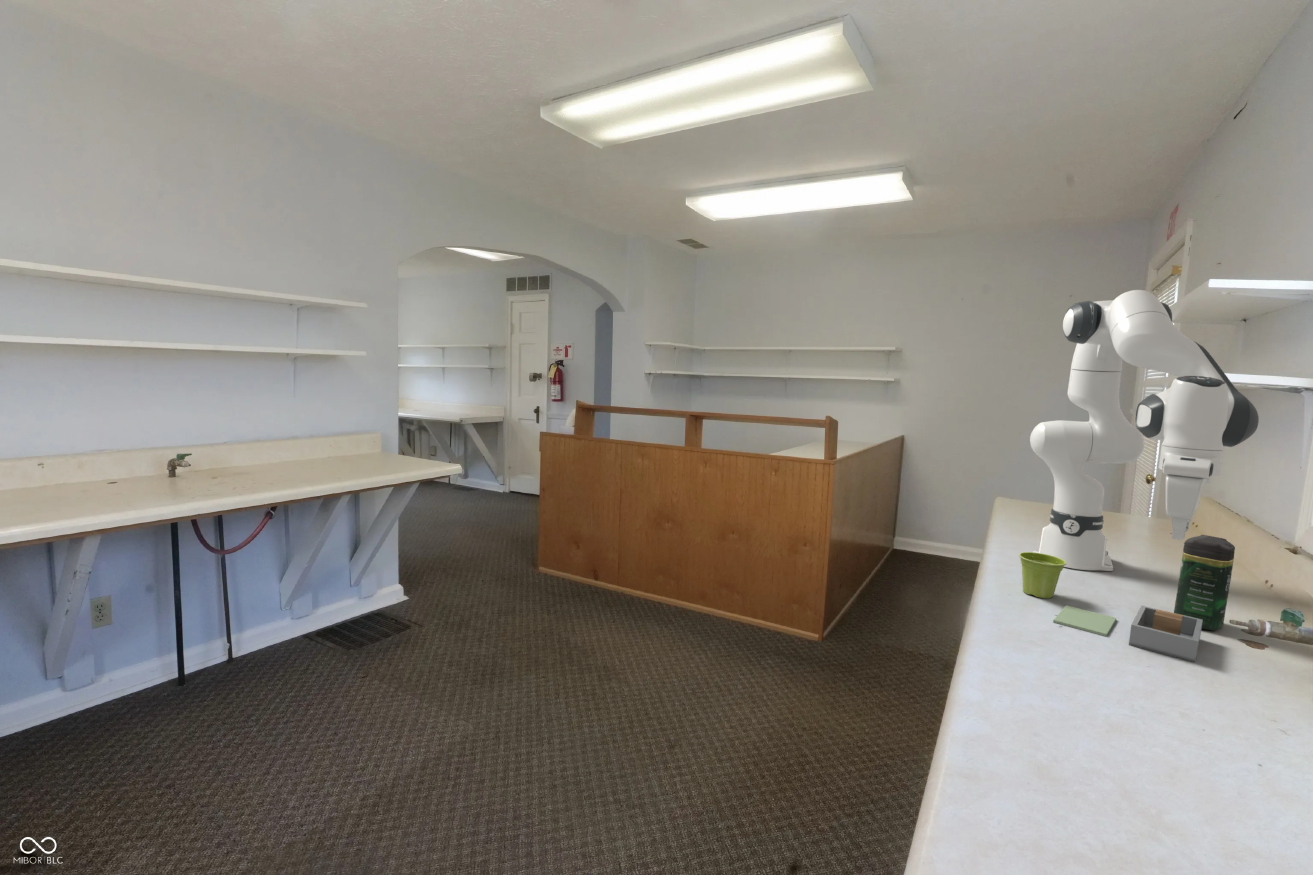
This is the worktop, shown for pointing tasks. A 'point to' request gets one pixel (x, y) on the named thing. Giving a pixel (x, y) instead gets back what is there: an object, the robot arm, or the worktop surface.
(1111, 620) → the olive mat
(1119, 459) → the robot arm
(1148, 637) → the grey bin
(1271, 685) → the worktop surface
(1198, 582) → the coffee jar
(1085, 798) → the worktop surface
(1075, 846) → the worktop surface
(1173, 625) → the walnut block
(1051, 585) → the plant pot
